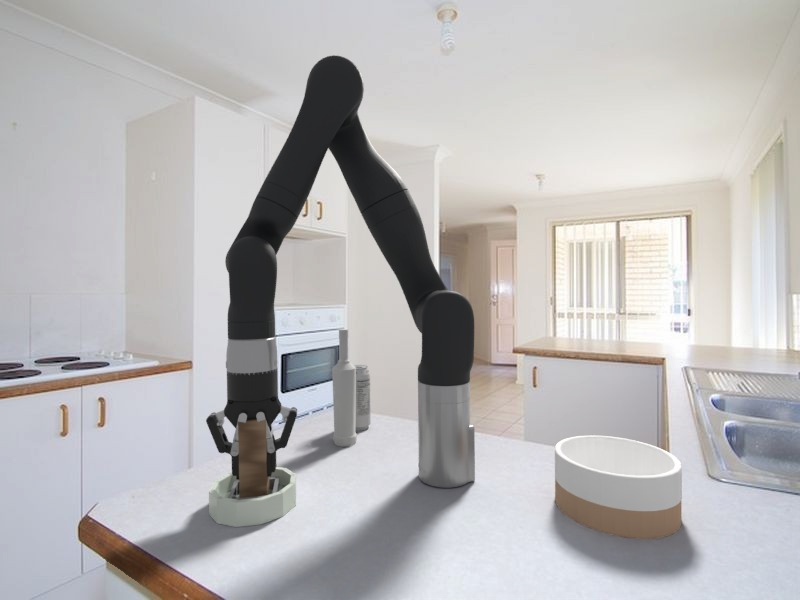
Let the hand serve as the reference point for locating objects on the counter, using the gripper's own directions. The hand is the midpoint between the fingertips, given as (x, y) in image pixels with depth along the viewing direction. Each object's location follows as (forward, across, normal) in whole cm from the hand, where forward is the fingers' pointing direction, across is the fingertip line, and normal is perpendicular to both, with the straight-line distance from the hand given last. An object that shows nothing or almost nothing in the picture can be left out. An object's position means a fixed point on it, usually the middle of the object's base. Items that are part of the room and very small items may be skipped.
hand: (254, 475), depth 68 cm
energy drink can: (+5, -20, -35) cm, 41 cm away
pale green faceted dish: (+5, 0, 0) cm, 5 cm away
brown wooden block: (+3, 0, 0) cm, 3 cm away
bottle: (+5, -16, -25) cm, 30 cm away
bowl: (+5, -54, +13) cm, 56 cm away
